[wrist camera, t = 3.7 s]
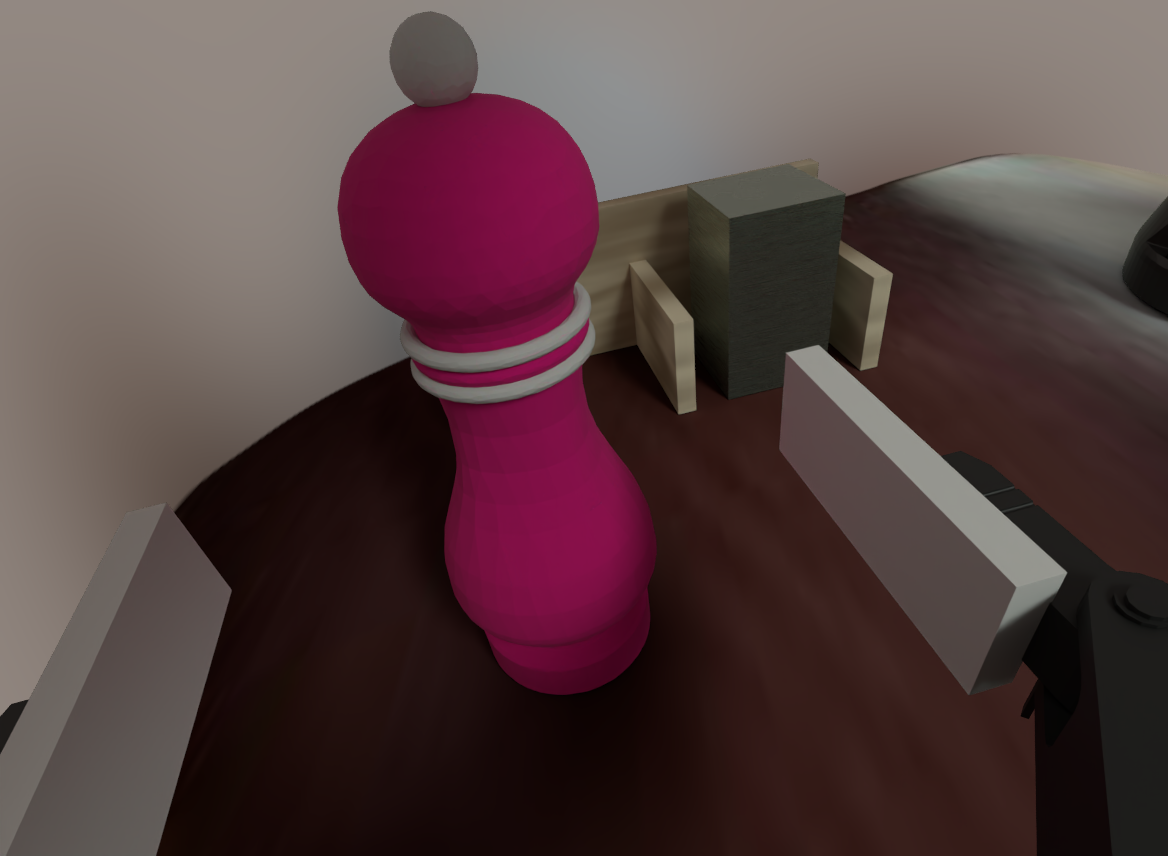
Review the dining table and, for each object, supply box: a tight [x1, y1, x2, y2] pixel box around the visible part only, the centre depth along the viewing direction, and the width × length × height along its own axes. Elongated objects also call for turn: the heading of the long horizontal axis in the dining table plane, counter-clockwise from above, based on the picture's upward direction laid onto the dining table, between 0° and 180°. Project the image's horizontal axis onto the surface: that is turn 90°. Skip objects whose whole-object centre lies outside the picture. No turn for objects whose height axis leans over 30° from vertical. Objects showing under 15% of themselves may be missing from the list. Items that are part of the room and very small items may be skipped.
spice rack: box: [577, 159, 893, 414], centre depth 35 cm, size 9×22×9 cm, turn 102°
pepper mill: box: [338, 12, 657, 695], centre depth 19 cm, size 7×7×20 cm
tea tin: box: [687, 164, 845, 400], centre depth 34 cm, size 6×6×10 cm
